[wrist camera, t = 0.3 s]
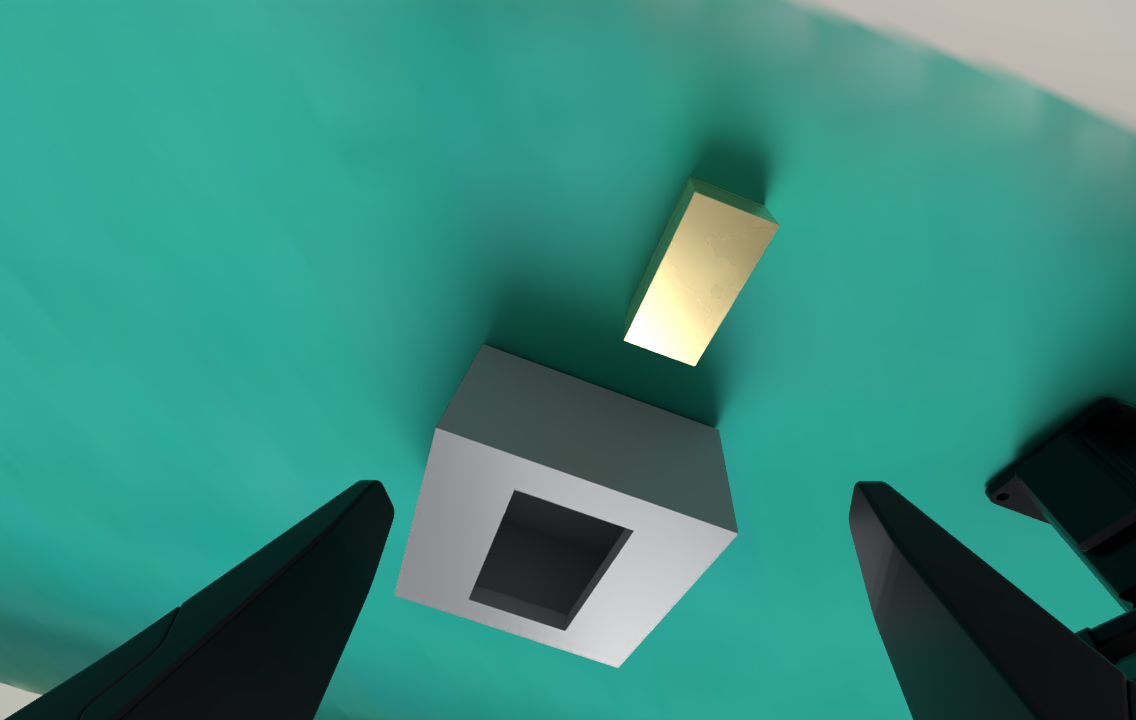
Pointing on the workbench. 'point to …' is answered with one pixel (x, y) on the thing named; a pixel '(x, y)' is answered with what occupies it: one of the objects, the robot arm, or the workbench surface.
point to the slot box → (564, 509)
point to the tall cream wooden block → (697, 270)
